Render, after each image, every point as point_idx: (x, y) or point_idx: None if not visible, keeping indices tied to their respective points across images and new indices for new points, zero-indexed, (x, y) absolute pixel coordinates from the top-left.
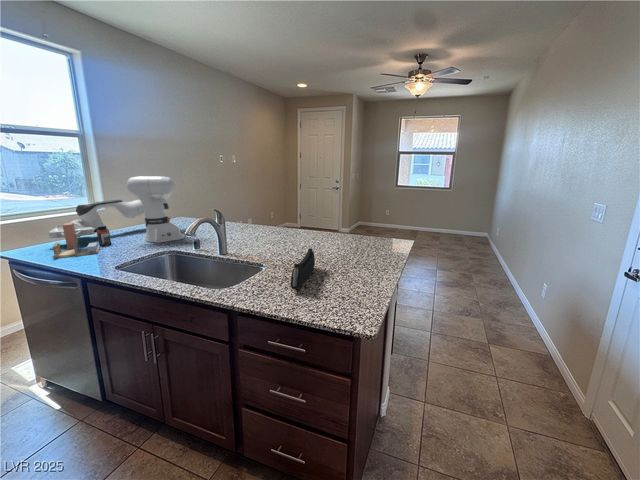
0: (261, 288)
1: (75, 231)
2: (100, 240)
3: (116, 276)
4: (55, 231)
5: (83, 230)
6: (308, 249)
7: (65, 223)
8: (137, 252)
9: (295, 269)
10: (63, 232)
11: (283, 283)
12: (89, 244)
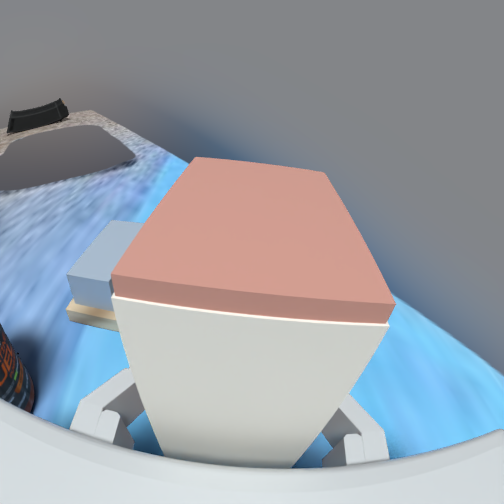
0: (71, 123)
1: (155, 426)
2: (13, 349)
3: (151, 147)
4: (476, 466)
5: (35, 418)
6: (12, 111)
7: (341, 252)
8: (28, 209)
9: (63, 101)
10: (361, 473)
11: (53, 125)
12: (120, 253)
